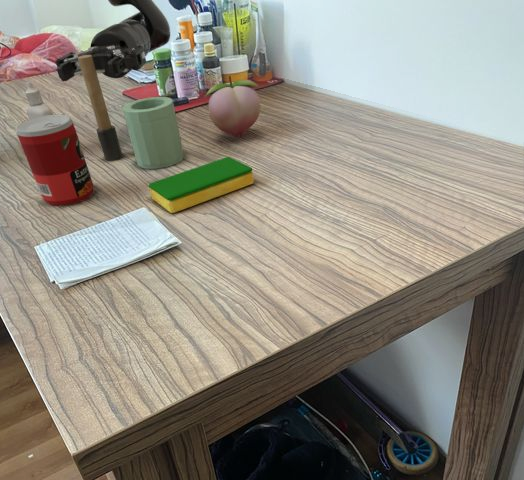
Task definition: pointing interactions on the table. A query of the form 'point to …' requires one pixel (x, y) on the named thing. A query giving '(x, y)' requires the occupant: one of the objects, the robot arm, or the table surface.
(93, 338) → the table surface
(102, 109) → the brush
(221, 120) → the decorative fruit
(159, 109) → the jar
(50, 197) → the canned food
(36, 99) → the eye dropper bottle
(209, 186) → the dish sponge
